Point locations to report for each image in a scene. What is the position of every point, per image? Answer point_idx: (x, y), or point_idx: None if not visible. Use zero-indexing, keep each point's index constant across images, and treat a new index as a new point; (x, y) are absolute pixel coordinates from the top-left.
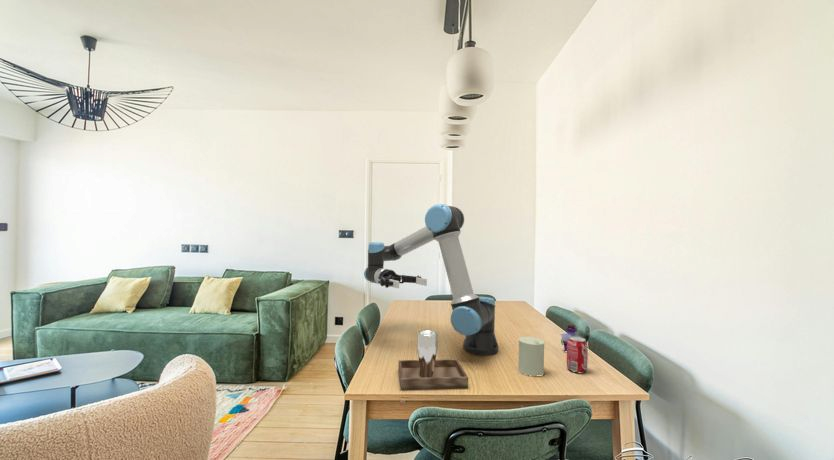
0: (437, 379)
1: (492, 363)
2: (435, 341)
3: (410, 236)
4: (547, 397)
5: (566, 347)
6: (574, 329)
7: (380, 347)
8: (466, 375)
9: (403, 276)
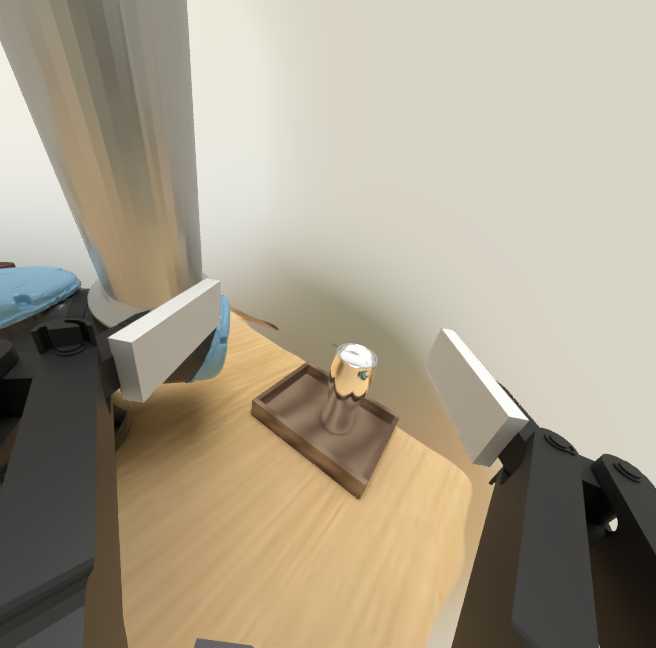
0: None
1: (177, 383)
2: (347, 353)
3: None
4: (257, 323)
5: None
6: None
7: None
8: (303, 364)
9: (93, 572)
